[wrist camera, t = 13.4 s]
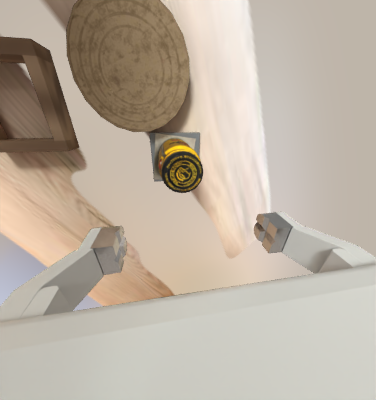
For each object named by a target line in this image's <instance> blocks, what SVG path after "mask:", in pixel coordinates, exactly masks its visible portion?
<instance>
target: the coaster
mask: <svg viewBox="0 0 376 400" xmlns="http://www.w3.org/2000/svg"><path fill="white" fill-rule="evenodd" d="M158 134H166V135H173V136H181V137H188V138H195V139H196V141H195V147H194V150H195V152H196V153H197V154H198V156H199V143H200V133H199V132H178V133H158ZM150 143H151V153H152V163H153V173H154V157H155V133H150ZM154 181H163V180H160V179H154Z"/></svg>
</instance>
